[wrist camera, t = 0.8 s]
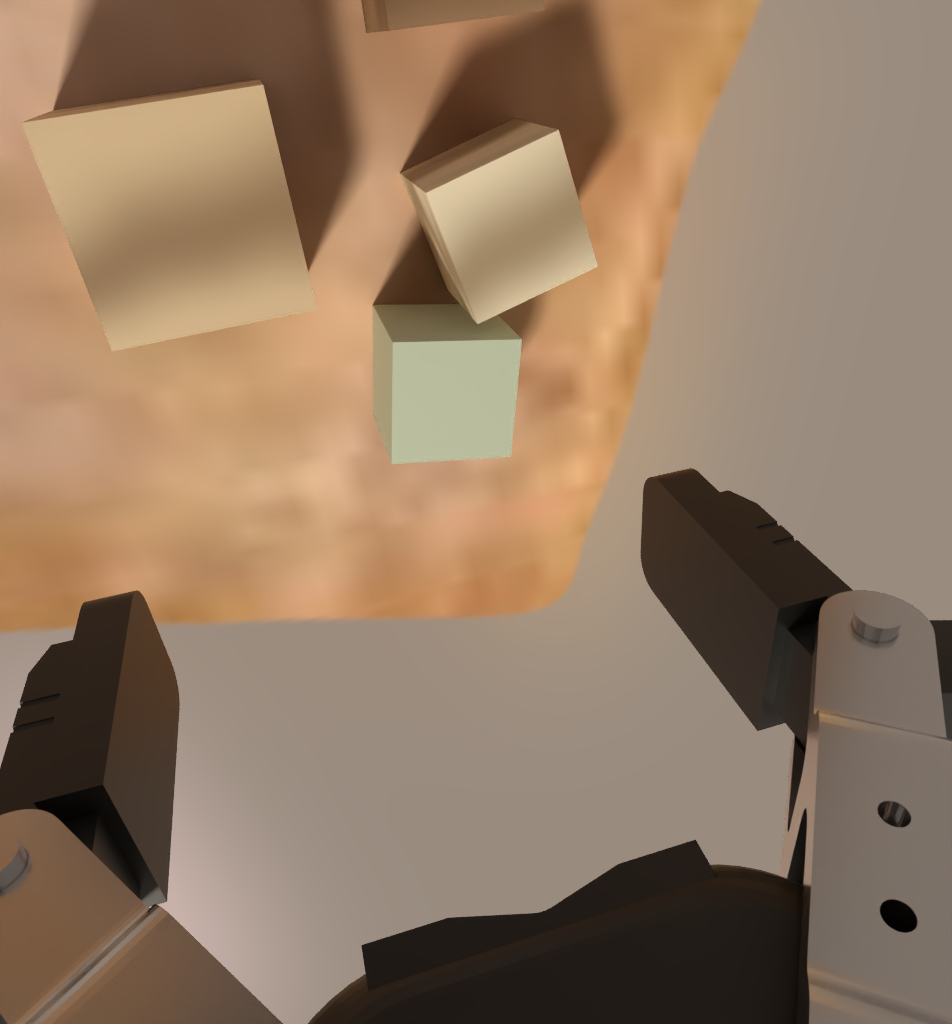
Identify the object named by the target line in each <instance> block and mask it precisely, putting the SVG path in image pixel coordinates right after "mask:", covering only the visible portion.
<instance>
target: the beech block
mask: <svg viewBox="0 0 952 1024" xmlns="http://www.w3.org/2000/svg"><path fill="white" fill-rule="evenodd" d="M400 175H401V177H402V180H403V182H404V185H405V187H406V190H407V192H408V195H409V197H410V199H411V202H412V204H413V207H414V209H415V212H416V214H417V217H418V219H419V221H420V224H421V226H422V229H423V231H424V234H425V236H426V238H427V241H428V243H429V246H430V248H431V251H432V253H433V256H434V258H435V260H436V263H437V265H438V268H439V270H440V273H441V275H442V278H443V280H444V282H445V285H446V287H447V290H448V291H449V292H450V293H451V294H452V295H453V297H454V298H455V299H456V300H457V301H458V302H459V303H460V305H461V306H462V307H463V308H464V309H465V310H466V311H467V313H468V314H469V315H470V316H471V317H472V318H473V319H474V320H475V322H476V323H477V324H479V323H481V322H483V321H485V320H487V319H490V318H492V317H494V316H496V315H498V314H500V313H502V312H504V311H506V310H508V309H510V308H512V307H514V306H517V305H519V304H521V303H523V302H525V301H527V300H529V299H531V298H533V297H535V296H537V295H539V294H542V293H544V292H546V291H548V290H550V289H552V288H554V287H556V286H558V285H560V284H562V283H564V282H566V281H569V280H571V279H573V278H575V277H577V276H579V275H581V274H583V273H585V272H587V271H589V270H591V269H594V268H596V267H598V266H597V262H596V259H595V255H594V252H593V248H592V245H591V241H590V238H589V234H588V231H587V227H586V224H585V220H584V217H583V213H582V210H581V206H580V203H579V199H578V196H577V192H576V189H575V185H574V182H573V178H572V175H571V171H570V168H569V164H568V161H567V157H566V154H565V150H564V147H563V143H562V140H561V136H560V133H559V130H558V129H554V128H550V127H546V126H542V125H539V124H535V123H531V122H527V121H523V120H520V119H516V118H515V119H512V120H510V121H508V122H506V123H504V124H502V125H500V126H498V127H496V128H494V129H491V130H489V131H487V132H485V133H483V134H481V135H479V136H477V137H475V138H472V139H470V140H468V141H466V142H464V143H462V144H460V145H458V146H456V147H454V148H451V149H449V150H447V151H445V152H443V153H441V154H439V155H437V156H435V157H433V158H430V159H428V160H426V161H424V162H422V163H420V164H418V165H416V166H414V167H412V168H409V169H407V170H405V171H403V172H401V173H400Z"/></svg>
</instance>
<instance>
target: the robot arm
mask: <svg viewBox="0 0 952 1024" xmlns="http://www.w3.org/2000/svg"><path fill="white" fill-rule="evenodd" d="M641 562H642V567H643V571H644V575H645V577H646V580H647V582H648V584H649V586H650V588H651V589H652V591H653V592H654V594H655V595H656V596H657V598H658V599H659V600H660V602H661V603H662V604H663V606H664V607H665V608H666V609H667V611H668V612H669V614H670V615H671V616H672V618H673V619H674V620H675V622H676V623H677V624H678V626H679V627H680V628H681V629H682V631H683V632H684V634H685V635H686V636H687V638H688V639H689V640H690V642H691V643H692V644H693V646H694V647H695V648H696V650H697V651H698V652H699V654H700V655H701V656H702V657H703V659H704V660H705V661H706V663H707V664H708V665H709V667H710V668H711V670H712V671H713V672H714V674H715V675H716V676H717V677H718V679H719V680H720V682H721V683H722V684H723V685H724V687H725V688H726V690H727V691H728V692H729V693H730V695H731V696H732V698H733V699H734V700H735V702H736V703H737V704H738V706H739V707H740V708H741V709H742V711H743V712H744V714H745V715H746V716H747V718H748V719H749V720H750V721H751V723H752V724H753V725H754V726H755V728H756V729H757V731H759V730H762V729H766V728H769V727H773V726H776V725H780V724H783V723H786V724H787V725H788V727H789V728H790V729H791V730H792V732H793V733H794V736H793V741H792V746H791V752H790V764H789V776H788V789H787V800H786V812H785V824H784V835H783V847H782V857H781V863H780V870H779V875H775V874H771V873H768V872H765V871H762V870H757V869H752V868H746V867H741V866H731V865H710V864H709V862H708V860H707V859H706V857H705V855H704V854H703V852H702V850H701V849H700V847H699V845H698V843H697V841H696V840H694V841H690V842H687V843H684V844H681V845H678V846H675V847H671V848H668V849H665V850H662V851H658V852H656V853H652V854H649V855H646V856H643V857H639V858H637V859H633V860H630V861H627V862H624V863H621V864H618V865H616V866H615V867H613V868H612V869H610V870H609V871H607V872H606V873H604V874H602V875H601V876H599V877H598V878H596V879H595V880H593V881H592V882H590V883H589V884H587V885H585V886H584V887H582V888H581V889H579V890H578V891H576V892H575V893H573V894H572V895H570V896H569V897H567V898H565V899H564V900H562V901H561V902H559V903H558V904H556V905H555V906H553V907H552V908H550V909H548V910H546V911H543V912H540V913H531V914H512V915H494V916H475V917H456V918H446V919H443V920H440V921H437V922H434V923H431V924H427V925H424V926H421V927H418V928H415V929H412V930H409V931H405V932H402V933H399V934H396V935H393V936H390V937H386V938H383V939H380V940H377V941H374V942H371V943H367V944H364V945H362V952H363V959H364V965H365V972H366V974H365V975H363V976H362V977H360V978H359V979H357V980H356V981H354V982H353V983H351V984H349V985H348V986H347V987H346V988H345V989H343V990H342V991H341V992H340V993H338V994H337V995H336V996H335V997H334V998H332V999H331V1000H330V1001H329V1002H328V1003H327V1004H326V1005H325V1006H324V1007H323V1008H322V1009H321V1010H320V1011H319V1012H318V1013H317V1014H316V1015H315V1016H314V1017H313V1018H312V1019H311V1020H310V1022H309V1023H308V1024H952V620H942V621H939V620H935V621H934V620H932V621H931V620H928V619H927V617H926V616H925V615H924V614H923V613H922V612H921V611H919V610H918V609H917V608H915V607H914V606H913V605H911V604H909V603H907V602H905V601H903V600H901V599H899V598H897V597H894V596H891V595H887V594H885V593H880V592H874V591H866V590H855V591H853V590H852V589H851V588H850V587H849V586H847V585H846V584H845V583H844V582H843V581H842V580H841V579H840V578H839V577H838V576H836V575H835V574H834V573H833V572H832V571H831V570H830V569H829V568H828V567H827V566H825V565H824V564H823V563H822V562H821V561H820V560H819V559H818V558H817V557H816V556H814V555H813V554H812V553H811V552H810V551H809V550H808V549H807V548H806V547H804V546H803V545H802V544H801V543H800V542H799V541H798V540H796V541H794V538H793V536H792V535H791V534H790V533H789V532H788V531H787V530H785V529H784V527H782V526H781V525H780V526H778V524H777V521H776V520H775V519H774V518H772V517H771V516H770V515H769V514H768V513H767V512H766V511H765V510H764V509H762V508H761V507H760V506H759V505H758V504H757V503H755V502H753V501H750V500H748V499H746V498H744V497H742V496H739V495H737V494H735V493H733V492H731V491H724V492H719V491H718V490H717V489H716V488H715V487H714V486H712V485H711V484H710V483H709V482H708V481H707V480H706V479H705V478H704V477H703V476H702V475H701V474H700V473H699V472H698V471H696V470H695V469H691V468H690V469H686V470H681V471H677V472H673V473H668V474H663V475H659V476H655V477H650V478H648V479H647V480H646V482H645V484H644V490H643V511H642V535H641ZM20 705H21V708H19V709H18V711H17V714H16V717H15V721H14V724H13V730H14V732H13V733H11V734H10V737H9V741H8V744H7V747H6V751H5V754H4V757H3V761H2V764H1V768H0V1024H283V1023H282V1022H281V1021H280V1020H278V1019H277V1018H276V1017H275V1016H274V1015H273V1014H272V1013H271V1012H270V1011H269V1010H268V1009H267V1008H266V1007H265V1006H264V1005H263V1004H262V1003H261V1002H260V1001H259V1000H258V999H257V998H256V997H255V996H254V995H252V993H251V992H250V991H249V990H248V989H247V988H245V987H244V986H243V985H242V984H241V983H240V982H239V981H238V980H237V979H236V978H235V977H234V976H233V975H232V974H231V973H230V972H229V971H228V970H227V969H226V968H225V967H224V966H223V965H222V964H221V963H220V962H219V961H218V960H216V958H215V957H213V956H212V955H211V954H210V953H209V952H208V951H207V950H206V949H205V948H204V947H203V946H202V945H201V944H200V943H199V942H198V941H197V940H196V939H195V938H194V937H193V936H192V935H191V934H190V933H189V932H188V931H187V930H186V929H185V928H184V927H183V926H182V925H180V924H179V923H178V922H177V921H176V920H175V919H174V918H173V917H172V916H171V915H170V914H169V913H168V912H167V911H165V910H164V909H163V908H162V907H160V906H158V905H157V904H160V903H164V902H167V893H168V877H169V862H170V845H171V830H172V815H173V799H174V784H175V767H176V752H177V737H178V722H179V692H178V685H177V680H176V676H175V672H174V669H173V666H172V663H171V661H170V658H169V656H168V654H167V651H166V649H165V646H164V644H163V641H162V639H161V637H160V634H159V632H158V629H157V627H156V624H155V622H154V620H153V617H152V615H151V612H150V610H149V608H148V605H147V603H146V601H145V599H144V597H143V595H142V594H141V593H140V592H139V591H133V592H128V593H124V594H119V595H115V596H110V597H106V598H101V599H97V600H92V601H88V602H84V603H83V605H82V606H81V609H80V613H79V617H78V622H77V626H76V630H75V634H74V638H73V640H71V641H67V642H62V643H58V644H54V645H51V646H50V648H49V649H48V650H47V651H46V653H45V654H44V655H43V656H42V657H41V659H40V660H39V661H38V663H37V664H36V665H35V666H34V667H33V669H32V670H31V671H30V672H29V674H28V677H27V681H26V684H25V687H24V690H23V694H22V697H21V700H20ZM150 906H152V907H151V908H149V907H150Z"/></svg>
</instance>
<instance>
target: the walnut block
mask: <svg viewBox="0 0 952 1024" xmlns="http://www.w3.org/2000/svg"><path fill="white" fill-rule="evenodd" d="M361 1H362V7H363V14H364V20H365V27H366V33H370V32H380V31H390V30H397V29H405V28H413V27H421V26H428V25H436V24H444V23H451V22H459V21H467V20H474V19H482V18H490V17H498V16H505V15H513V14H521V13H528V12H536V11H544V10H545V4H544V0H361Z"/></svg>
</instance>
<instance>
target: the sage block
mask: <svg viewBox="0 0 952 1024" xmlns="http://www.w3.org/2000/svg"><path fill="white" fill-rule="evenodd" d="M521 345H522V339H521V338H520V337H519V336H518V335H517V334H516V333H515V332H514V331H513V330H512V329H511V328H510V327H509V326H508V324H507V323H506V322H505V321H504V320H503V319H502V318H501V317H500V316H499V315H496V316H494V317H492V318H490V319H487V320H485V321H483V322H481V323H479V324H477V323H476V322H475V320H474V319H473V318H472V317H471V316H470V315H469V314H468V313H467V311H466V310H465V309H464V308H463V307H462V306H461V305H460V304H398V305H373V416H374V419H375V421H376V424H377V427H378V429H379V432H380V435H381V437H382V440H383V443H384V445H385V448H386V450H387V453H388V456H389V458H390V461H391V464H401V463H417V462H432V461H448V460H464V459H479V458H495V457H511V450H512V440H513V429H514V419H515V408H516V397H517V387H518V376H519V366H520V355H521Z"/></svg>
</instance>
